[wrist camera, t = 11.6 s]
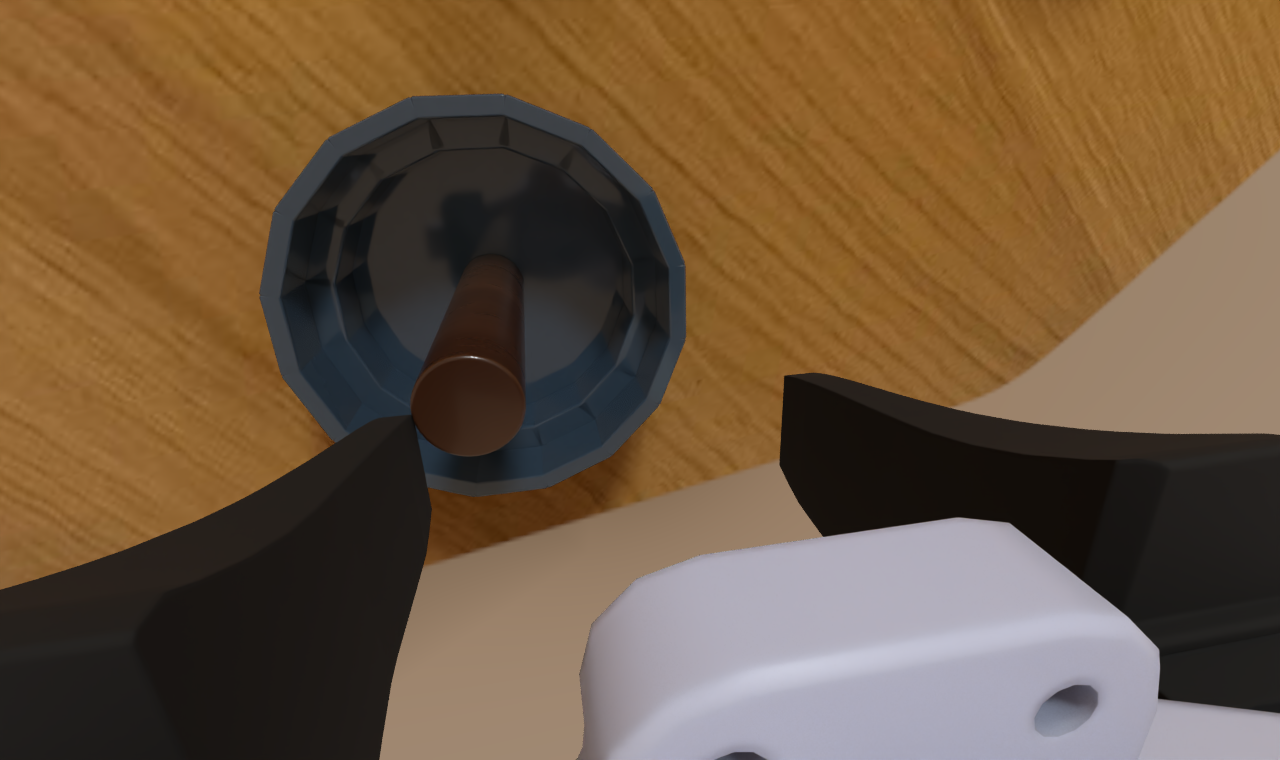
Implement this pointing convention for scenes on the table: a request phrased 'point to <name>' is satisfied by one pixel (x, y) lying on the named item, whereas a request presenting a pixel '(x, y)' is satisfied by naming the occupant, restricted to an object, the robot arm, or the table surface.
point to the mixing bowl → (435, 260)
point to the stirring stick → (476, 364)
